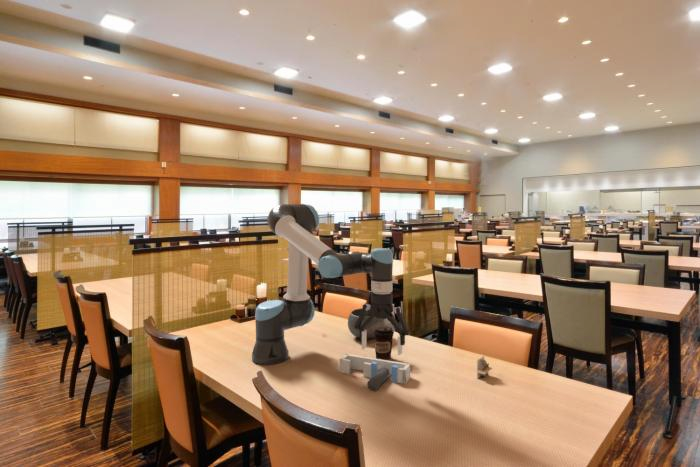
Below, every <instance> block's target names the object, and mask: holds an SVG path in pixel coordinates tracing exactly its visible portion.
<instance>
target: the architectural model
mask: <svg viewBox="0 0 700 467" xmlns="http://www.w3.org/2000/svg"><path fill="white" fill-rule="evenodd" d="M476 362H477V363H476V364H477V365H476V366H477V367H476V379H480V378H481V377H484V378H485V377H487V376H489V372H490V371H491V370H493V367H491V366H490V363H489V362H488V363H487V360H485V355H483V356H481V357H480V358H478V359H477V361H476Z"/></svg>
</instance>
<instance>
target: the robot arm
mask: <svg viewBox="0 0 700 467" xmlns="http://www.w3.org/2000/svg"><path fill="white" fill-rule="evenodd" d="M319 217H320V216H319V213H318V211H317V210H316V209H315V207H314V206H313V205H310V204H304V203H281V204H277V205H275V206H274V207H273V208H272V209H271V210H270V211H269V213H268V216H267V223H268V224H267V225H268V226H269V229H270V230H271V231H272V233H273V234H275V235H276V236H278V237H279V238H282V239H285V240H286V241H288V258H287V260H288V261H287V262H288V263H287V279H286V281H287V284H286V293H285V294H283V297H282V300H280V299H273V300H266V301H263V302H261V303H259V304H258V305H257V306H256V308H255V315H254V319H255V342H254V347H253V350H252V353H251V361H252V362H253V363H256V364H258V365H276V364H280V363H282V362H286V361H287V360H288V359H289V358H290V357H289V356H290V354H289V353H290V352H289V350H288V346H287V343H286V340H285V331H287V330H290V329H294V328H297V327H303V326H304V325H308V324H309V323H310V322H312V320H313V319H314V316H315V314H316V313H315V312H316V311H315V310H316V309H315V305H314V302H313V301H312V299H310V298H311V297H310V295H309V294H308V293H307V289H308V287H307V286H308V271H309V270H308V268H309V260H311V261H312V262H314V263H315V264H316V265H317V269H318V272H319V274H320V275H321V276H322V277H323V278H325V279H330V278H331V279H334V278H339V277H345V276H350V275H355V274H366V275H367V274H369V275H370V278H371V279H370V280H371V281H370V283H371V284H370V287H371V288H370V291H371V293H370V296H371V298H370V299H371V300H370V302H371V303H370V304H369V303H367V302H366V303H365V304H362V308H363V309H362V308H361V309H362V312H361V314H360V316H359V318H358V320H357V322H356V325H355V329H358V330H359V331H360V338H359V340H361V350H365V349H366V348H367V344H368V343H367V340H368V339H367V330H364V329H365V327H366V326H367V325H368V324H369V323H370V322H371V321H372V320H373V318H374V317H376V318H382V319H384V320H386V319H387V320H388V321H389V323H390V324H391V325H392V326H393V328H394V329H395V330H396V332H397V333H398V336H397V355H398V356H401V355H402V353H403V346H404V345H405V344H406V336H409V334H411V330H410V328H409V325H408V324H407V321H406V319H405V317H404V315H403V311H402V310H403V309H402V306H397V307H394V306H393V286H394V285H393V268H394V267H393V266H394V264H393V263H394V259H393V251H392V249H391V248H385V247H382V248H381V247H376V248H372V249H371V251H370V252H364V251H363V252H362V251H361V252H360V251H349V252H348V253H342V254H339V253H338V252H336V251H335V250H333V249H332V248H331V247H330V246H328V245H327V244H326V243H324V242H323V241H322V240H320V239H319V238H317V237H316V236H315V235H314V231H316V230H317V229H318V227H319V224H320V218H319ZM369 309H371V311H372V312H373V313H372V314H371V315H370V317H369V318H368V319H367V320H366V321H365V322H364V324H363V325H362V326H361V323H362V321H363V319H364V317H365V315H366V313H367V311H368V310H369ZM393 312H394V314H395V315H396V317H397V319H398V320H397V319H396V318H395V316H394V314H393ZM398 321H399V322H398Z"/></svg>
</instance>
